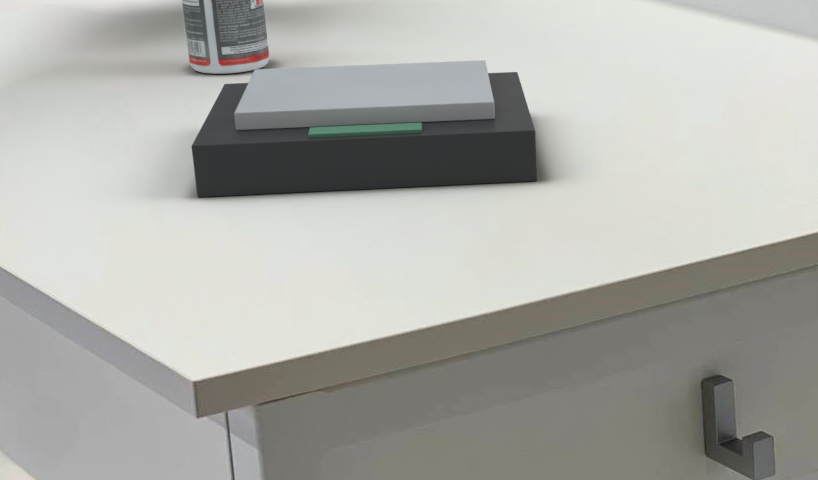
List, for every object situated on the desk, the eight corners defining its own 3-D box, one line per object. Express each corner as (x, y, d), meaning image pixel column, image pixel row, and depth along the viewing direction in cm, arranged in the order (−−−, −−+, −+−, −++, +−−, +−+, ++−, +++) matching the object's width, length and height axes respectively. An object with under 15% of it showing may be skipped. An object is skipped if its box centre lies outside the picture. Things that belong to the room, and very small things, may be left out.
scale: (197, 197, 86) (189, 126, 84) (229, 128, 100) (222, 67, 99) (537, 181, 87) (534, 111, 86) (519, 115, 102) (516, 55, 101)
